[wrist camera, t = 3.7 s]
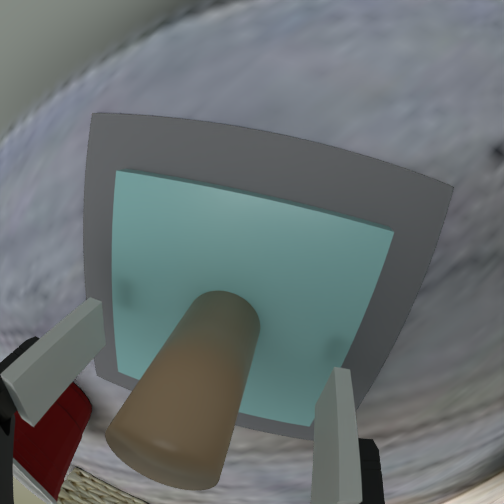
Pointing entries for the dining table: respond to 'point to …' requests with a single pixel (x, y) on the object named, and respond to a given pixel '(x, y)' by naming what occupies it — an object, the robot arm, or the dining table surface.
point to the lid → (227, 315)
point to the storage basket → (91, 491)
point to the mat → (276, 185)
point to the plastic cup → (50, 444)
